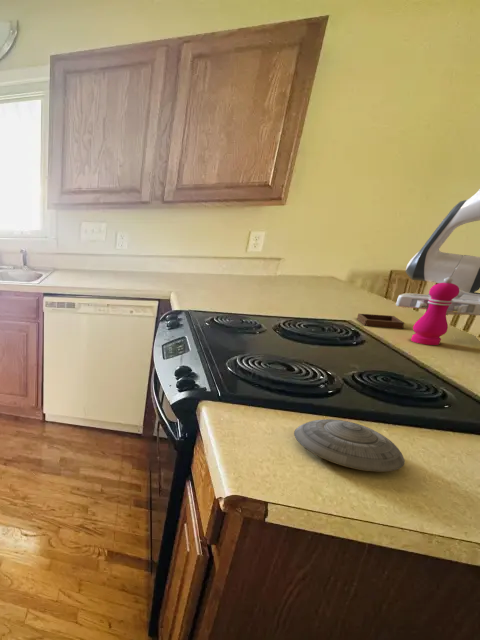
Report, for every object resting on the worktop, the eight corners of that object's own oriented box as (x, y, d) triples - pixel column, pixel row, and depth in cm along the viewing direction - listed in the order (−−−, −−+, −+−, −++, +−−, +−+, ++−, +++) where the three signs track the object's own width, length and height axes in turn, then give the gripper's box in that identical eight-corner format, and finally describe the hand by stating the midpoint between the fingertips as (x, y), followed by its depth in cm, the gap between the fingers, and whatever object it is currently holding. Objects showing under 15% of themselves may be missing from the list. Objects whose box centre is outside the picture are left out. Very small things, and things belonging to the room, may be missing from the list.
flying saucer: (325, 424, 79) (332, 399, 77) (422, 465, 66) (433, 436, 64) (273, 440, 74) (279, 415, 73) (366, 488, 61) (377, 458, 59)
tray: (392, 321, 144) (393, 315, 144) (402, 328, 136) (404, 322, 135) (356, 318, 149) (358, 313, 148) (364, 325, 141) (366, 319, 140)
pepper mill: (434, 347, 118) (460, 280, 111) (403, 340, 124) (426, 276, 117) (446, 343, 121) (472, 278, 114) (415, 337, 127) (438, 274, 120)
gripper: (403, 287, 133) (395, 293, 124) (497, 295, 118) (495, 302, 109) (396, 305, 135) (389, 312, 127) (488, 315, 120) (486, 324, 112)
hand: (439, 308), depth 118 cm, fingers open, 6 cm apart
